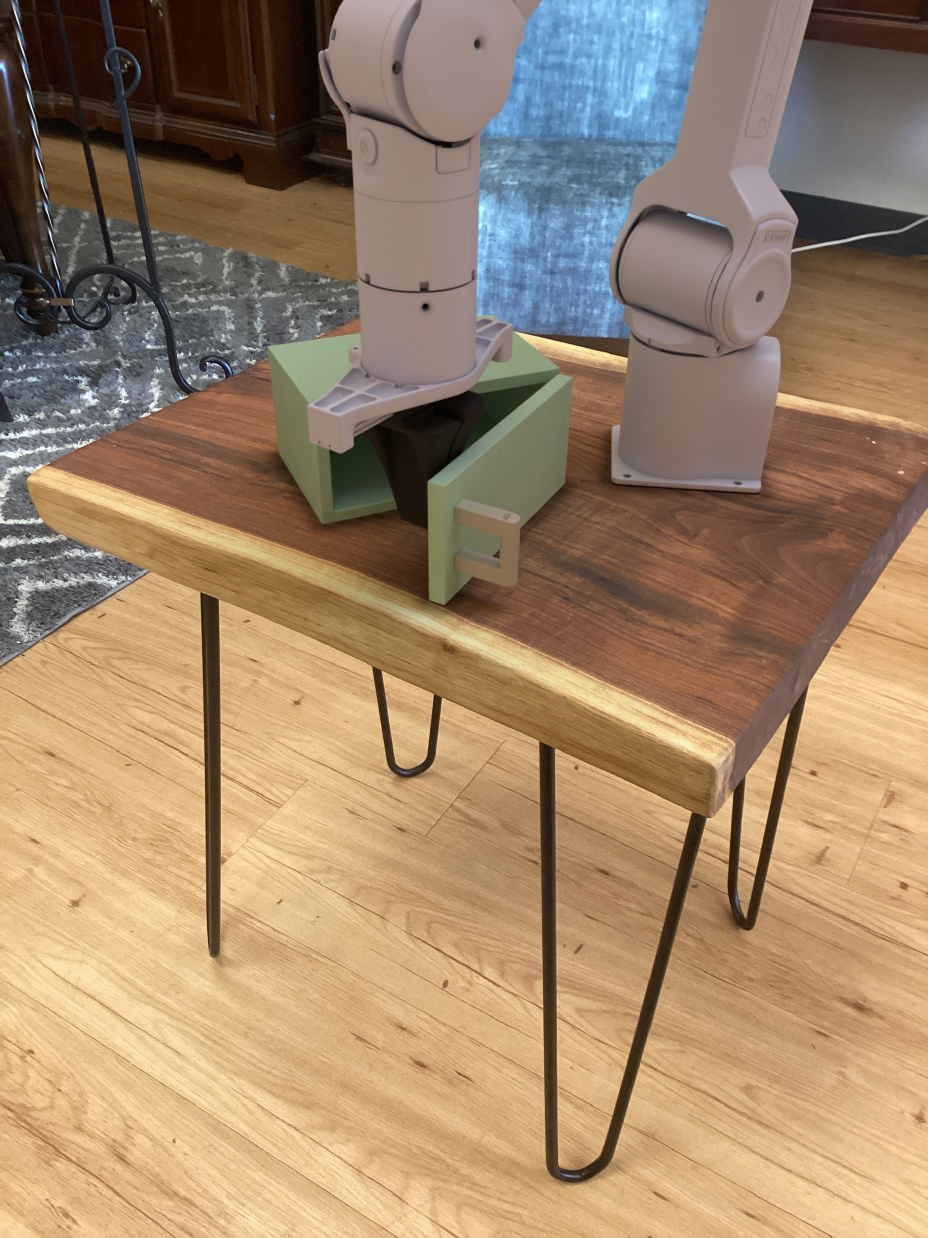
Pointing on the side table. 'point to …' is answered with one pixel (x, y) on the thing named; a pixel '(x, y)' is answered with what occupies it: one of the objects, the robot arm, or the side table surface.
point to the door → (497, 493)
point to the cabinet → (358, 473)
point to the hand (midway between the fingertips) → (420, 519)
